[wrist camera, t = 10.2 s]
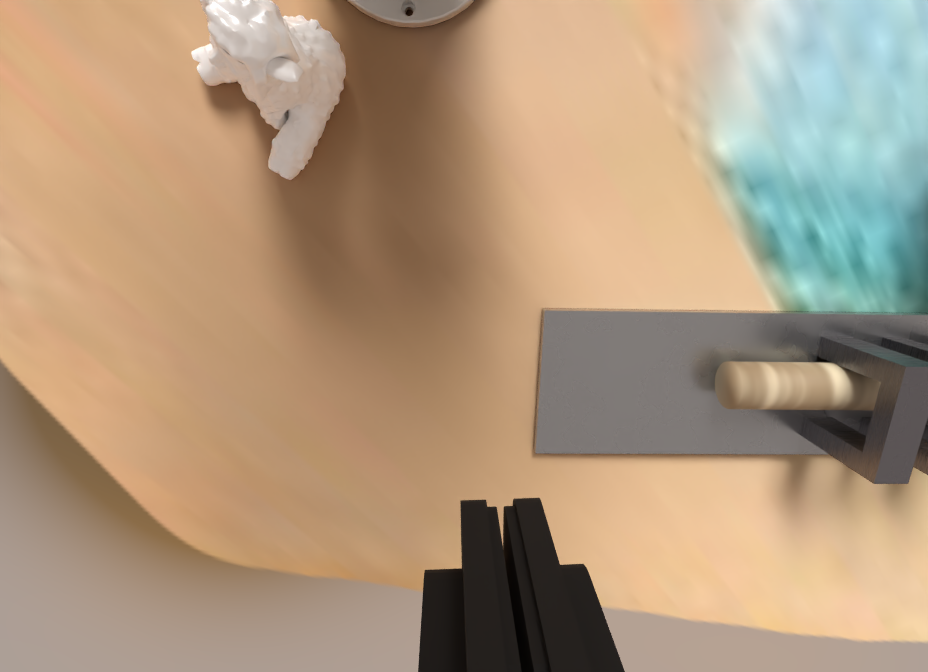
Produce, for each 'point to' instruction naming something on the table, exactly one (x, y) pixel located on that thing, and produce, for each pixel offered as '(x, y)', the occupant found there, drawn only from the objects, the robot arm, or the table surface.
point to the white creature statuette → (275, 72)
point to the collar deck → (693, 385)
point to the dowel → (793, 386)
